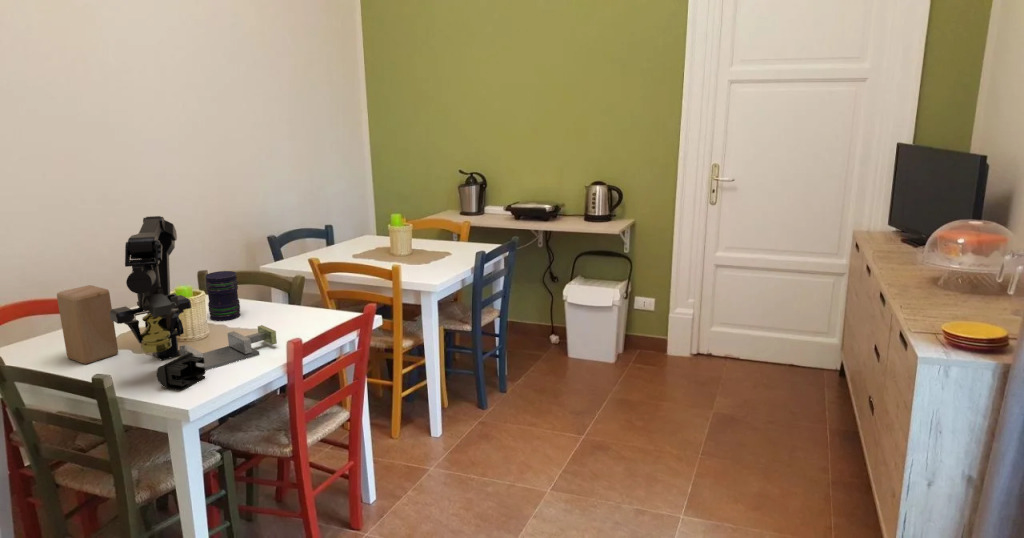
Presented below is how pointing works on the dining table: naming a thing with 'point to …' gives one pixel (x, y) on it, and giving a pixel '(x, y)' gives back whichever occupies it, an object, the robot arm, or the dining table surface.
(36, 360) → the dining table surface
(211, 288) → the storage jar
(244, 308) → the dining table surface
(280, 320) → the dining table surface
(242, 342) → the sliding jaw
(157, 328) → the olive finial
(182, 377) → the end cap
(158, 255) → the robot arm
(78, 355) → the wooden block
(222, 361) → the vise bed
